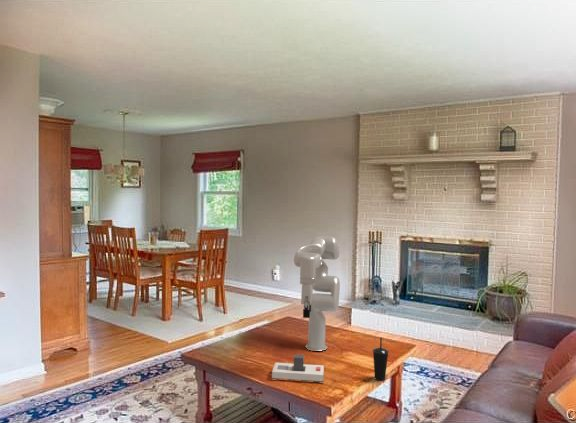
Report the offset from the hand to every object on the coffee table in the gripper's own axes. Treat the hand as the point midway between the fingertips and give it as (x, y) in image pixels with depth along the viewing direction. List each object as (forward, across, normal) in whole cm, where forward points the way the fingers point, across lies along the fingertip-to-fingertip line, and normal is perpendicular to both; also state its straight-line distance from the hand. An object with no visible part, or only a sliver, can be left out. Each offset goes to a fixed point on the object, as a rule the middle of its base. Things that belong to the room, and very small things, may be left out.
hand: (307, 314), depth 225 cm
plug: (+27, +10, -3) cm, 29 cm away
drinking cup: (+28, +6, +36) cm, 46 cm away
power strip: (+28, +10, -3) cm, 30 cm away
